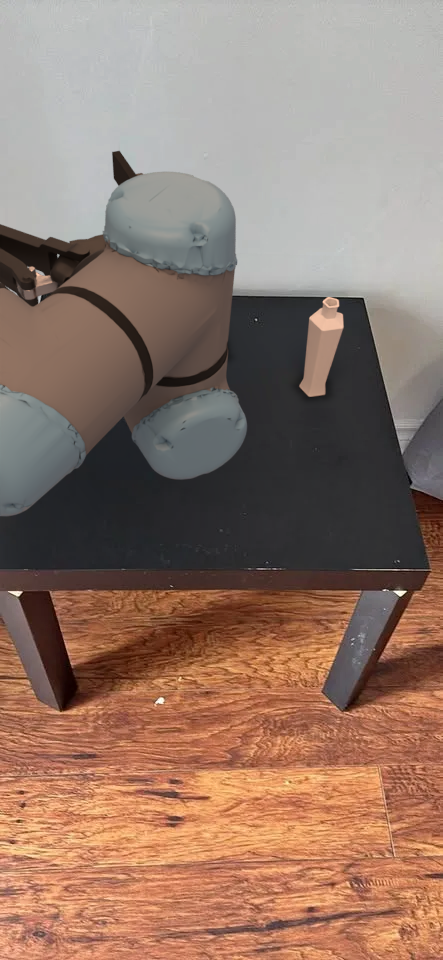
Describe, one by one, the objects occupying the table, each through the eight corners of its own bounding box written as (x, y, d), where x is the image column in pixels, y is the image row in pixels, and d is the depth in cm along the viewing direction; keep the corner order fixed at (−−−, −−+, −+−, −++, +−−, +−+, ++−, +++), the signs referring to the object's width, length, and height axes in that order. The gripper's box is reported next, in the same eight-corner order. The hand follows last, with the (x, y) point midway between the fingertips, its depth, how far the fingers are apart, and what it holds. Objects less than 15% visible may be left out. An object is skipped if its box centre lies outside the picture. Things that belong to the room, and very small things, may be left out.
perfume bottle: (336, 391, 106) (357, 306, 94) (311, 402, 104) (329, 317, 93) (317, 372, 108) (335, 286, 97) (292, 382, 107) (308, 296, 95)
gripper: (-25, 388, 58) (-78, 237, 70) (261, 315, 66) (170, 189, 77) (-47, 311, 52) (-101, 161, 64) (271, 240, 60) (170, 117, 71)
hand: (47, 176), depth 71 cm, fingers open, 13 cm apart
